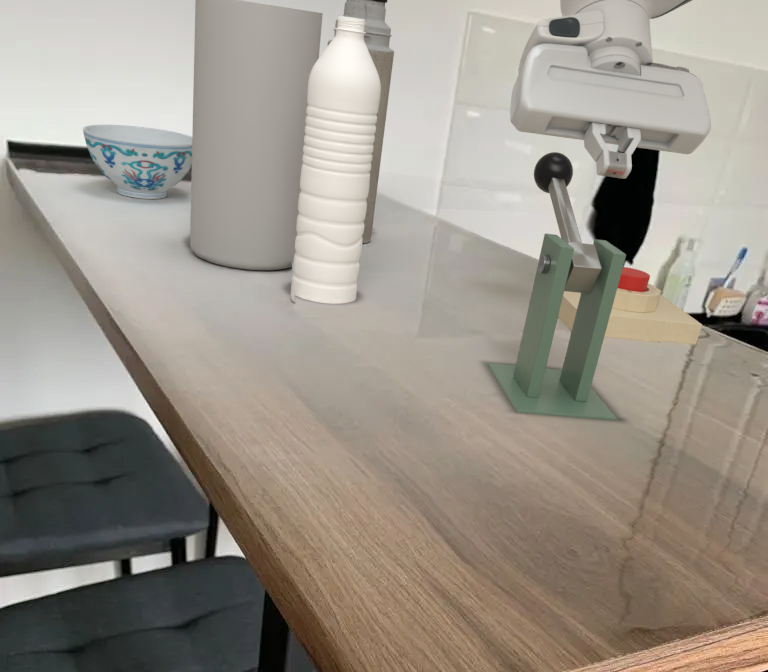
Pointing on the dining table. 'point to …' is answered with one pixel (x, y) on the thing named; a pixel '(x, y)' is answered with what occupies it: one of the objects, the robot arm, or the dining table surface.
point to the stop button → (633, 280)
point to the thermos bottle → (370, 6)
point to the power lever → (568, 221)
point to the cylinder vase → (249, 130)
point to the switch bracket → (573, 383)
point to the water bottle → (336, 167)
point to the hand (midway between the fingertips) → (614, 173)
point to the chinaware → (139, 158)
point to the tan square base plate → (640, 317)
